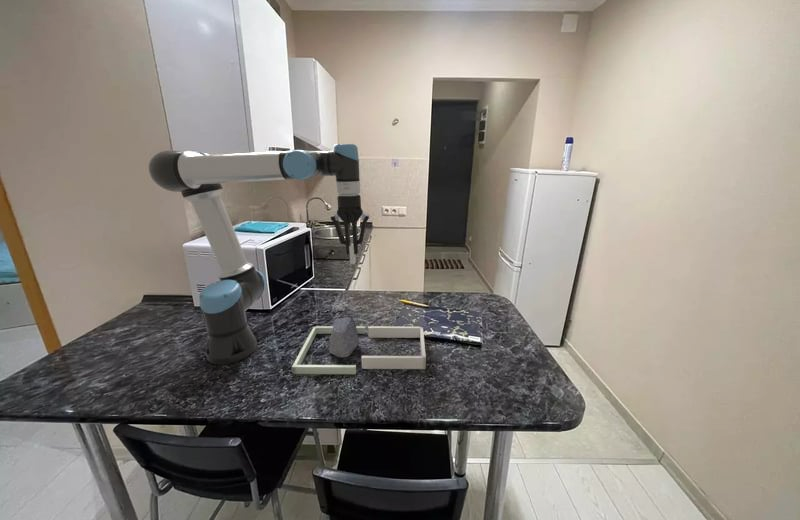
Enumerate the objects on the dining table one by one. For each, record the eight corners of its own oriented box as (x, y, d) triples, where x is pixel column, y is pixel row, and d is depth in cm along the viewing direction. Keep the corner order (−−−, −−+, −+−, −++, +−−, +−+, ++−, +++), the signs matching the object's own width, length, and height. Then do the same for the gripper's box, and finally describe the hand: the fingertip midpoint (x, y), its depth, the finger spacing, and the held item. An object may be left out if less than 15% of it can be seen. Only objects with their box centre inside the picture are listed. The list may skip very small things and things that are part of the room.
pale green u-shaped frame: (292, 373, 91) (291, 366, 91) (314, 332, 113) (313, 326, 112) (355, 374, 91) (355, 367, 90) (365, 332, 113) (365, 326, 112)
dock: (361, 368, 93) (361, 357, 92) (368, 336, 110) (368, 326, 109) (425, 369, 93) (425, 358, 92) (422, 336, 110) (422, 326, 109)
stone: (340, 343, 109) (365, 338, 106) (330, 364, 101) (357, 360, 98) (325, 317, 104) (351, 312, 101) (314, 338, 96) (341, 333, 93)
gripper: (326, 196, 96) (332, 266, 103) (367, 195, 95) (370, 266, 103) (331, 193, 103) (336, 259, 110) (370, 193, 103) (372, 259, 110)
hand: (353, 262), depth 107 cm, fingers closed
